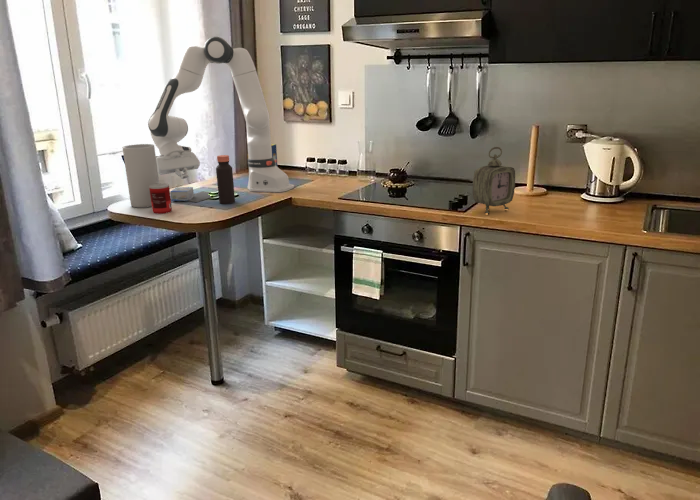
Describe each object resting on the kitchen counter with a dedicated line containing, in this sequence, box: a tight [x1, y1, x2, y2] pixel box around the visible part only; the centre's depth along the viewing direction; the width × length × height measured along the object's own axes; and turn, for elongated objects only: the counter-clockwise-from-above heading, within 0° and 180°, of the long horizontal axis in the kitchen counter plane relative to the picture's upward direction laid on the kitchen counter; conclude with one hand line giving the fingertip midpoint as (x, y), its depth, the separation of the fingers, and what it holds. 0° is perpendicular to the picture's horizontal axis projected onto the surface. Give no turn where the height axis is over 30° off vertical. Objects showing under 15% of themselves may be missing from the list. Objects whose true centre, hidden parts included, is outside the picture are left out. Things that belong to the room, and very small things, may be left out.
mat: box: [186, 190, 212, 203], centre depth 257 cm, size 12×18×1 cm, turn 154°
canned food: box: [149, 182, 173, 215], centre depth 231 cm, size 8×8×11 cm
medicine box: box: [170, 186, 195, 202], centre depth 252 cm, size 8×4×9 cm
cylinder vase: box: [122, 143, 160, 209], centre depth 241 cm, size 12×12×25 cm
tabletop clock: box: [472, 146, 516, 214], centre depth 216 cm, size 14×9×25 cm, turn 124°
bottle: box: [215, 154, 236, 205], centre depth 242 cm, size 7×7×20 cm
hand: (184, 177), depth 256 cm, fingers closed
